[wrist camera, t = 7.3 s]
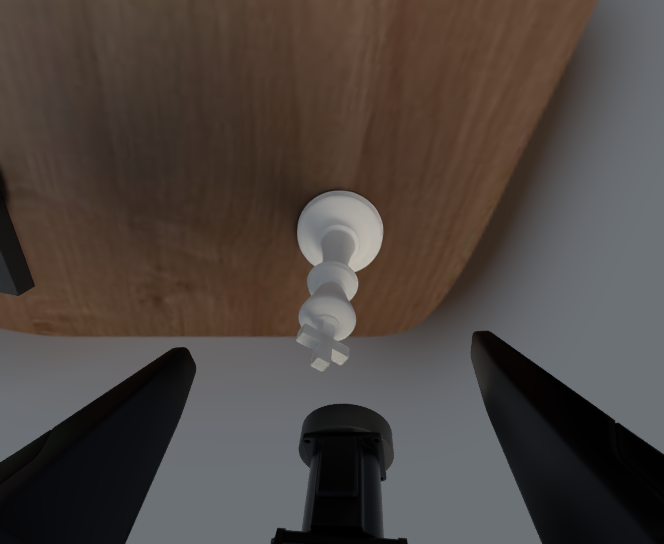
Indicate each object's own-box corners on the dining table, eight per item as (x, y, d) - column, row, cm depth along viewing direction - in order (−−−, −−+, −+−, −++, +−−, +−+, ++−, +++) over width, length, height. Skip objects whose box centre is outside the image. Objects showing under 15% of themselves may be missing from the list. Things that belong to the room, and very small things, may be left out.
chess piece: (327, 171, 16) (289, 259, 7) (401, 223, 17) (444, 355, 8) (282, 241, 18) (210, 373, 9) (349, 283, 19) (341, 436, 10)
